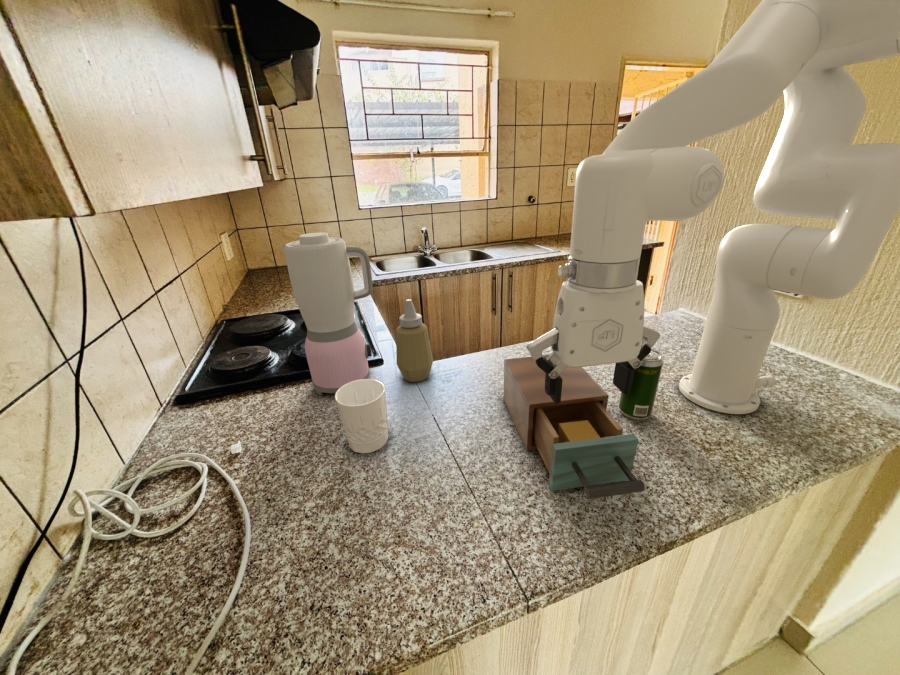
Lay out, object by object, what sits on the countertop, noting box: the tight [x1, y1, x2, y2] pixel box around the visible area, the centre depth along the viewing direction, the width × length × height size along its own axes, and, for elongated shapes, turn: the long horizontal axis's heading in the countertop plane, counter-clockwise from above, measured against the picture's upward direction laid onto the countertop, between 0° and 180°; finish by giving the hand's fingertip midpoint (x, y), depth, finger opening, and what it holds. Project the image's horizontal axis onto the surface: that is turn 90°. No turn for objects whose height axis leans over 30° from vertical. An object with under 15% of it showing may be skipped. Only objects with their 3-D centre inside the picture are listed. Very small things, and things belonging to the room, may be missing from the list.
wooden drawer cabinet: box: [502, 354, 609, 452], centre depth 63 cm, size 15×13×9 cm
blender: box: [279, 231, 374, 396], centre depth 73 cm, size 16×12×32 cm
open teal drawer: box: [532, 401, 646, 500], centre depth 52 cm, size 19×11×7 cm, turn 7°
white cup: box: [334, 378, 389, 455], centre depth 60 cm, size 8×8×10 cm
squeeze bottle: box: [395, 298, 434, 383], centre depth 77 cm, size 8×8×18 cm
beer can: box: [618, 348, 664, 421], centre depth 63 cm, size 5×5×12 cm
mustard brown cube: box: [558, 420, 600, 443], centre depth 53 cm, size 4×4×4 cm
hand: (587, 393), depth 49 cm, fingers open, 9 cm apart
